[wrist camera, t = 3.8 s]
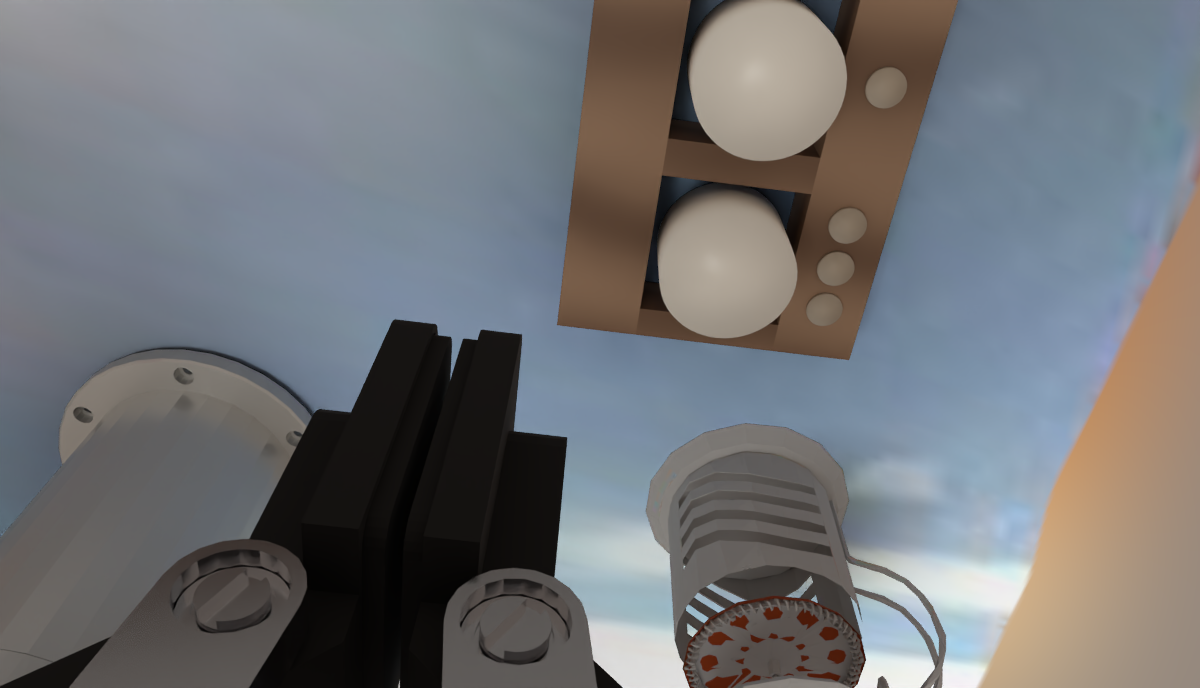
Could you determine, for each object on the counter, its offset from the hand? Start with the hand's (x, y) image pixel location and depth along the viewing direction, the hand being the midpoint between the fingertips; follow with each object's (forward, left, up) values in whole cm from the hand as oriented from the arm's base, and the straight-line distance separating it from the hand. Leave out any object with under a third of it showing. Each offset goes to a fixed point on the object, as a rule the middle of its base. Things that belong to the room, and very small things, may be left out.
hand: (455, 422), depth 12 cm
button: (0, -7, -24) cm, 25 cm away
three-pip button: (-7, -7, -24) cm, 26 cm away
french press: (-21, -12, -25) cm, 35 cm away
